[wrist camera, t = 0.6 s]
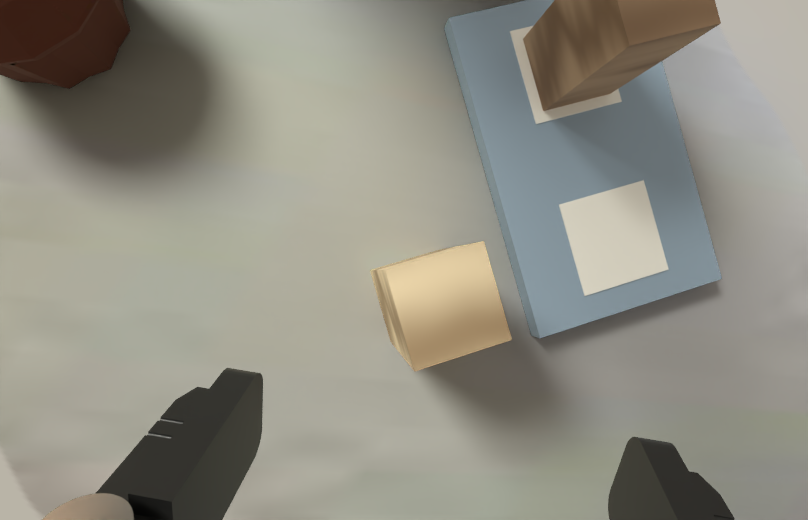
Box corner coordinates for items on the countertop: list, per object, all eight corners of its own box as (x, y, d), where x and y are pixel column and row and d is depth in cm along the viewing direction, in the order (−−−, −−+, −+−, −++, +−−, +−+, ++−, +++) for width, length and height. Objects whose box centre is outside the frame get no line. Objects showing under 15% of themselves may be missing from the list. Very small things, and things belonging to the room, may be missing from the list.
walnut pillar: (522, 38, 34) (601, -57, 24) (590, 22, 34) (693, -77, 25) (543, 111, 34) (629, 45, 24) (610, 93, 35) (720, 23, 25)
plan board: (444, 28, 35) (449, 16, 33) (625, -14, 37) (638, -26, 35) (531, 335, 35) (540, 338, 34) (706, 278, 37) (723, 278, 35)
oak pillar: (370, 270, 34) (385, 269, 24) (440, 249, 34) (483, 241, 25) (390, 341, 34) (414, 371, 24) (460, 319, 35) (512, 339, 25)
